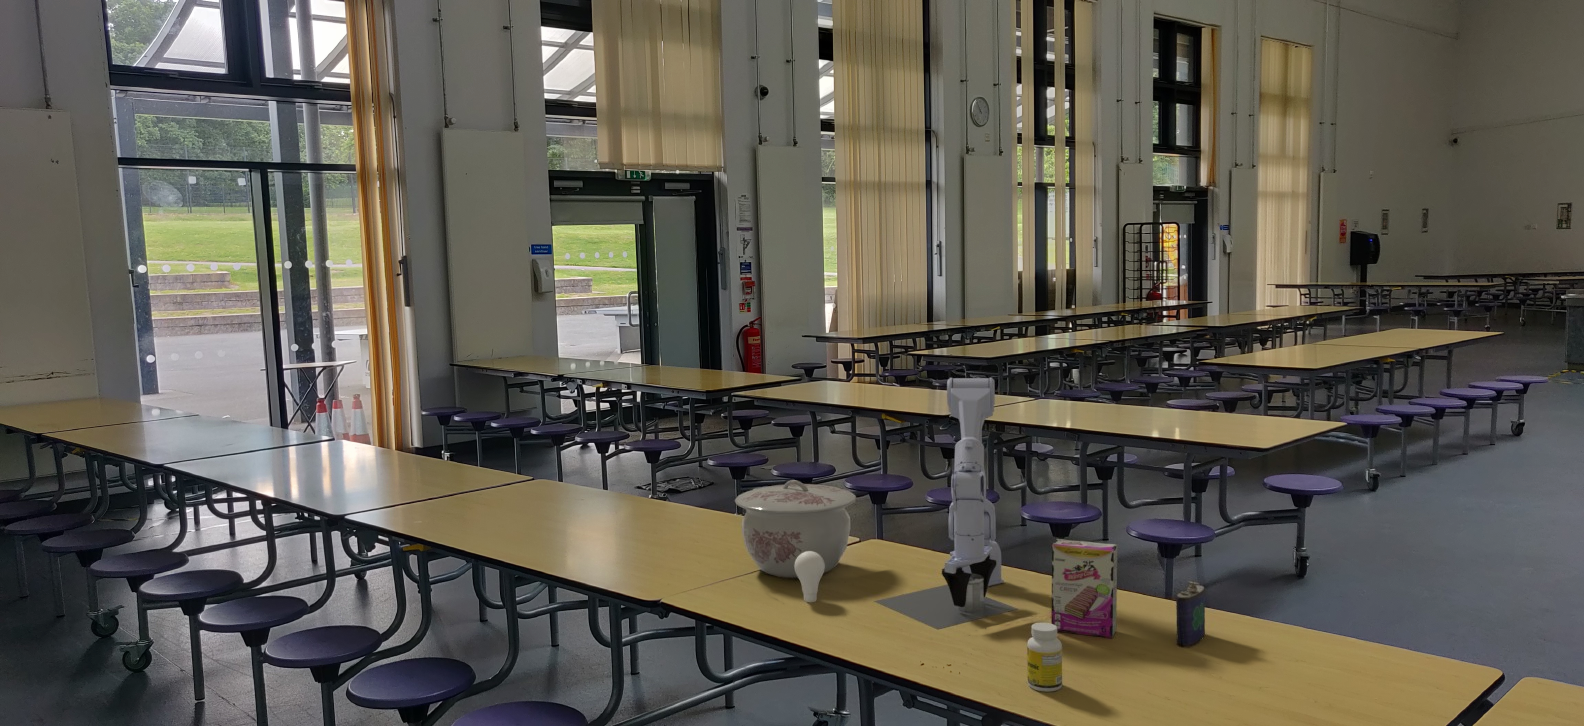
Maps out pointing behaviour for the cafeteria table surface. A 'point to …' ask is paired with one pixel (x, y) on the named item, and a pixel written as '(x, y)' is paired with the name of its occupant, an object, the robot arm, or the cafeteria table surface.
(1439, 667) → the cafeteria table surface
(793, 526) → the chamber pot
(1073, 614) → the candy bar box
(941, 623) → the base board
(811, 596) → the lightbulb
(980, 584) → the cylinder
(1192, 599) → the flask
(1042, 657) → the supplement bottle
